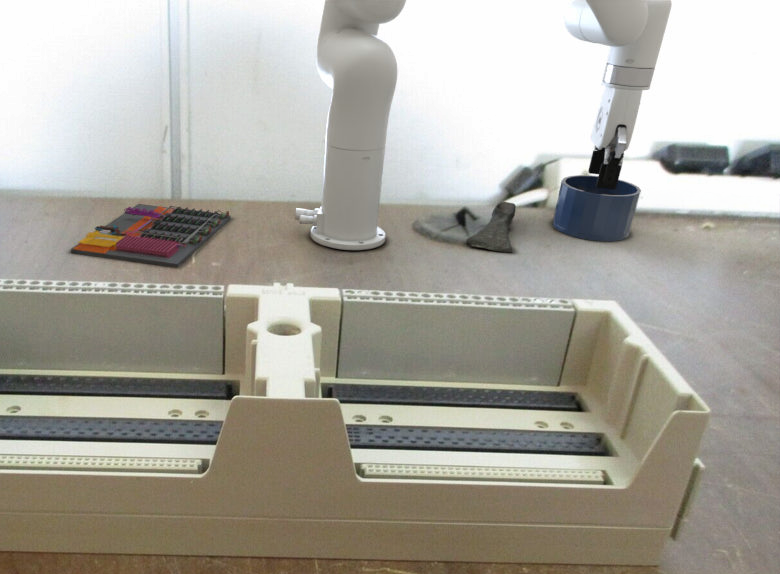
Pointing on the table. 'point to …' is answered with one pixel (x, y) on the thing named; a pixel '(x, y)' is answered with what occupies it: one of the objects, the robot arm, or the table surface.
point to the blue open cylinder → (595, 209)
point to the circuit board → (153, 235)
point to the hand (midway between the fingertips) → (601, 180)
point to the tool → (495, 230)
